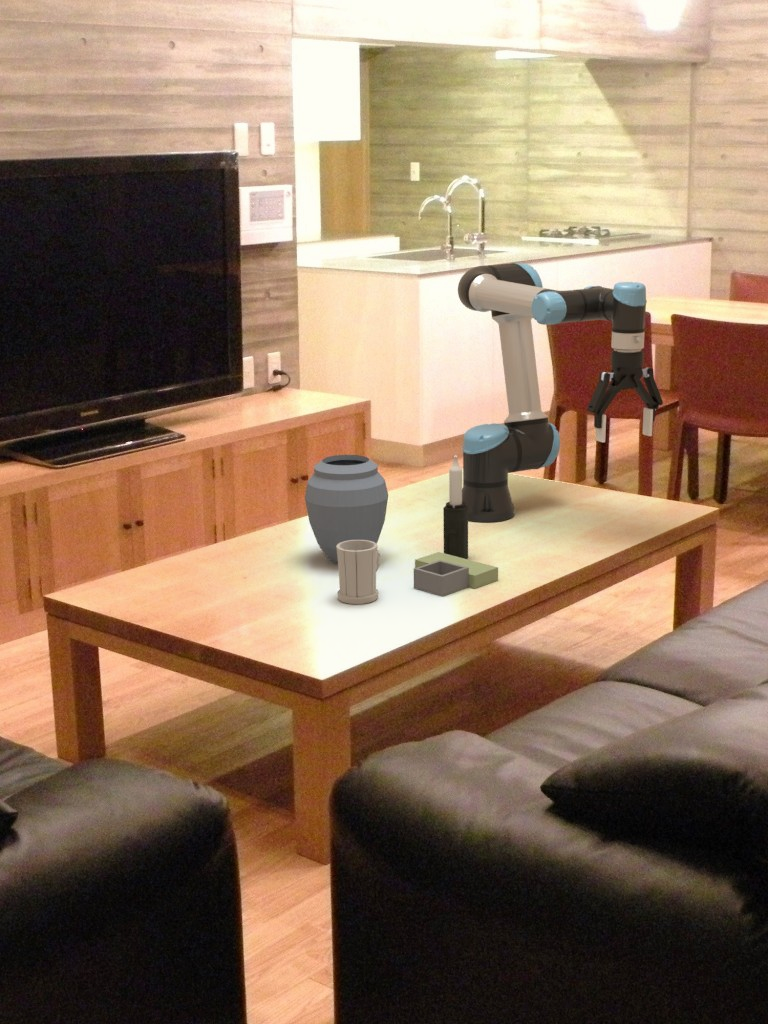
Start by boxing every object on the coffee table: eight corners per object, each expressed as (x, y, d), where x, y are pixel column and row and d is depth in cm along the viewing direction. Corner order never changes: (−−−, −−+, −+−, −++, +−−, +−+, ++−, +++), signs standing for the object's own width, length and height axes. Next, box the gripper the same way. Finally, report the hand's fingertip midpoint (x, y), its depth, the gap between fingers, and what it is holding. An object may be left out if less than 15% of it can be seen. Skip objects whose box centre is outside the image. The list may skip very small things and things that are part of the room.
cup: (339, 589, 305) (338, 537, 302) (380, 589, 305) (379, 537, 302) (336, 605, 295) (334, 551, 292) (378, 604, 295) (377, 551, 292)
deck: (388, 580, 311) (388, 561, 309) (438, 564, 322) (438, 545, 321) (448, 598, 298) (448, 578, 297) (498, 580, 310) (498, 561, 308)
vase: (289, 562, 326) (285, 461, 319) (347, 543, 339) (345, 447, 333) (348, 578, 313) (346, 474, 306) (406, 558, 326) (405, 458, 320)
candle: (469, 556, 328) (469, 453, 321) (463, 562, 323) (463, 458, 316) (448, 554, 329) (448, 452, 323) (442, 560, 324) (441, 457, 318)
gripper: (592, 356, 314) (590, 447, 320) (680, 347, 325) (675, 435, 331) (574, 351, 321) (571, 440, 327) (660, 343, 332) (656, 429, 338)
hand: (624, 438), depth 329 cm, fingers open, 13 cm apart
